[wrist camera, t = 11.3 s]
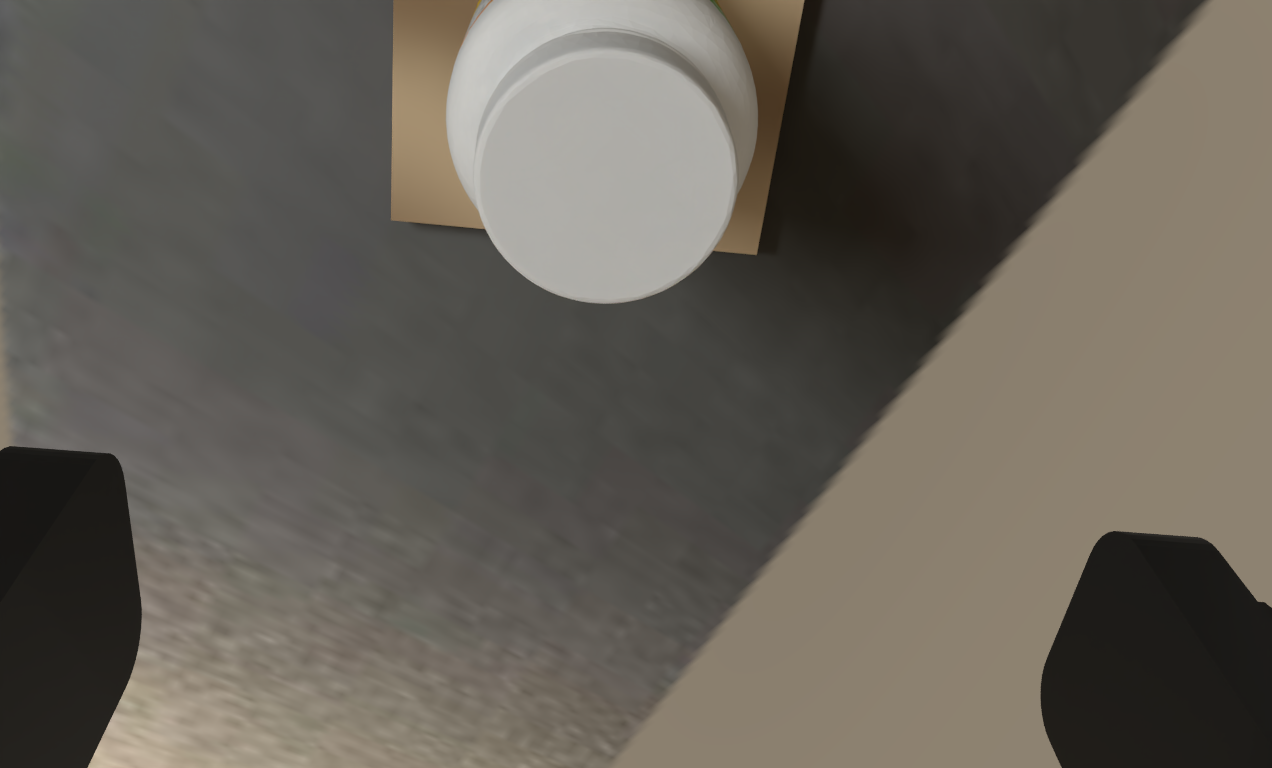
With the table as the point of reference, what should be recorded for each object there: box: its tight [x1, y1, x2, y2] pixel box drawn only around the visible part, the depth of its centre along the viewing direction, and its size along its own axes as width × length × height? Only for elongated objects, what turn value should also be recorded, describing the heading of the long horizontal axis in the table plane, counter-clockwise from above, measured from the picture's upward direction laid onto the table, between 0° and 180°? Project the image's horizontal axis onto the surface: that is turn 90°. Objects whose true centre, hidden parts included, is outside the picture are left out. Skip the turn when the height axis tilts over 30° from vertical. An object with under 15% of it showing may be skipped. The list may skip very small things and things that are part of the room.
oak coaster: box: [391, 0, 804, 255], centre depth 25 cm, size 9×9×1 cm
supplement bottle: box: [446, 0, 758, 304], centre depth 21 cm, size 5×5×10 cm
